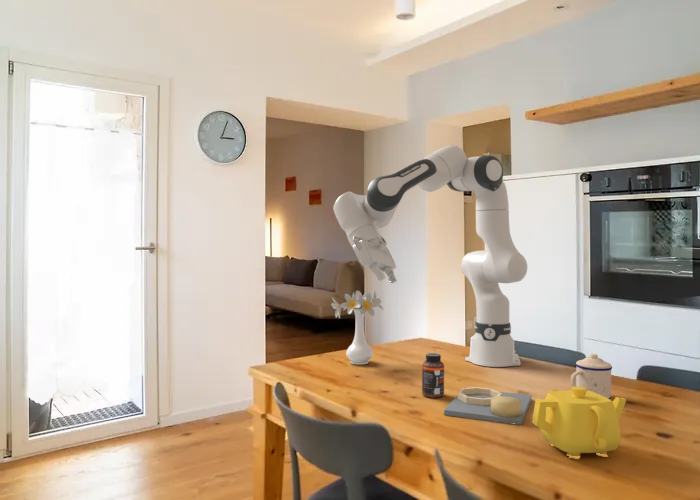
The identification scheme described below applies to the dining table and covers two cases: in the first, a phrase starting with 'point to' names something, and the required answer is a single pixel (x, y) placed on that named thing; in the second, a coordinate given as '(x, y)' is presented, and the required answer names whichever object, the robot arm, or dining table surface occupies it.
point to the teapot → (579, 420)
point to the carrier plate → (489, 405)
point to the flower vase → (358, 324)
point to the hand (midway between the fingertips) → (388, 280)
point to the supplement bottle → (433, 376)
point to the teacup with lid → (593, 375)
